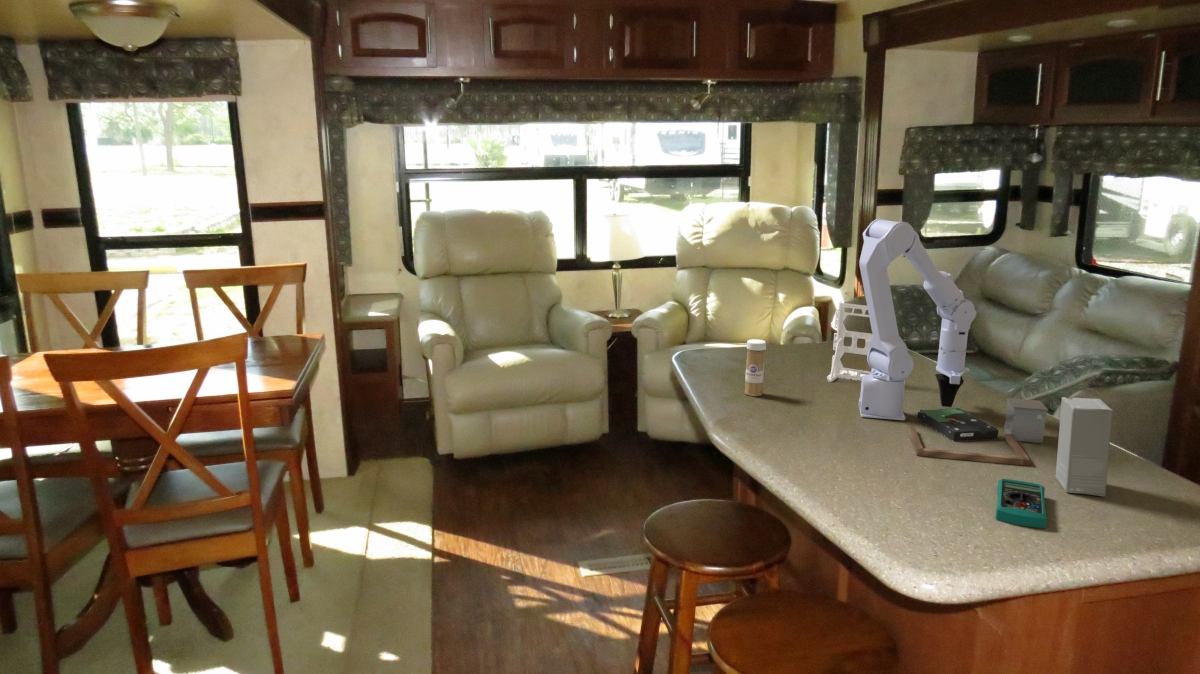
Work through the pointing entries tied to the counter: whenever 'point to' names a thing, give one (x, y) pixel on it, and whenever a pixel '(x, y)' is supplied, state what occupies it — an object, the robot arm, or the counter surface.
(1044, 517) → the digital multimeter
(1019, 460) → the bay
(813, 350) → the counter surface
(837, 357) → the white open rack frame
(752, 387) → the sprinkles bottle
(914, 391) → the counter surface
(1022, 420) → the junction box
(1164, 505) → the counter surface
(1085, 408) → the skincare box
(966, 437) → the disk drive
